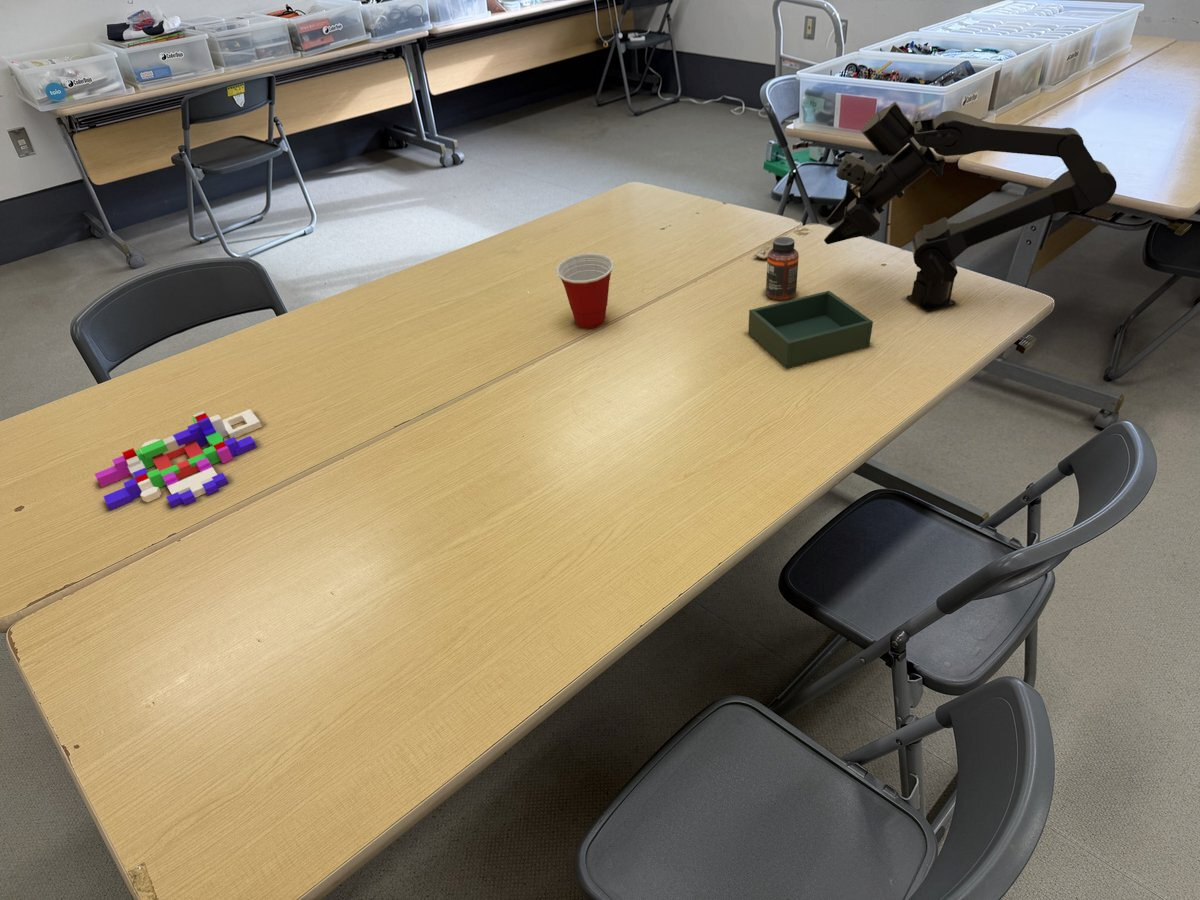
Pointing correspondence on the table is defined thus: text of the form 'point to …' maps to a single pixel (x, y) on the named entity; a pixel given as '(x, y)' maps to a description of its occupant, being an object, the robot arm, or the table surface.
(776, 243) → the supplement bottle
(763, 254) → the snack bar
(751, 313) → the bin
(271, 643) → the table surface
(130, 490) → the building block set
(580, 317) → the plastic cup
